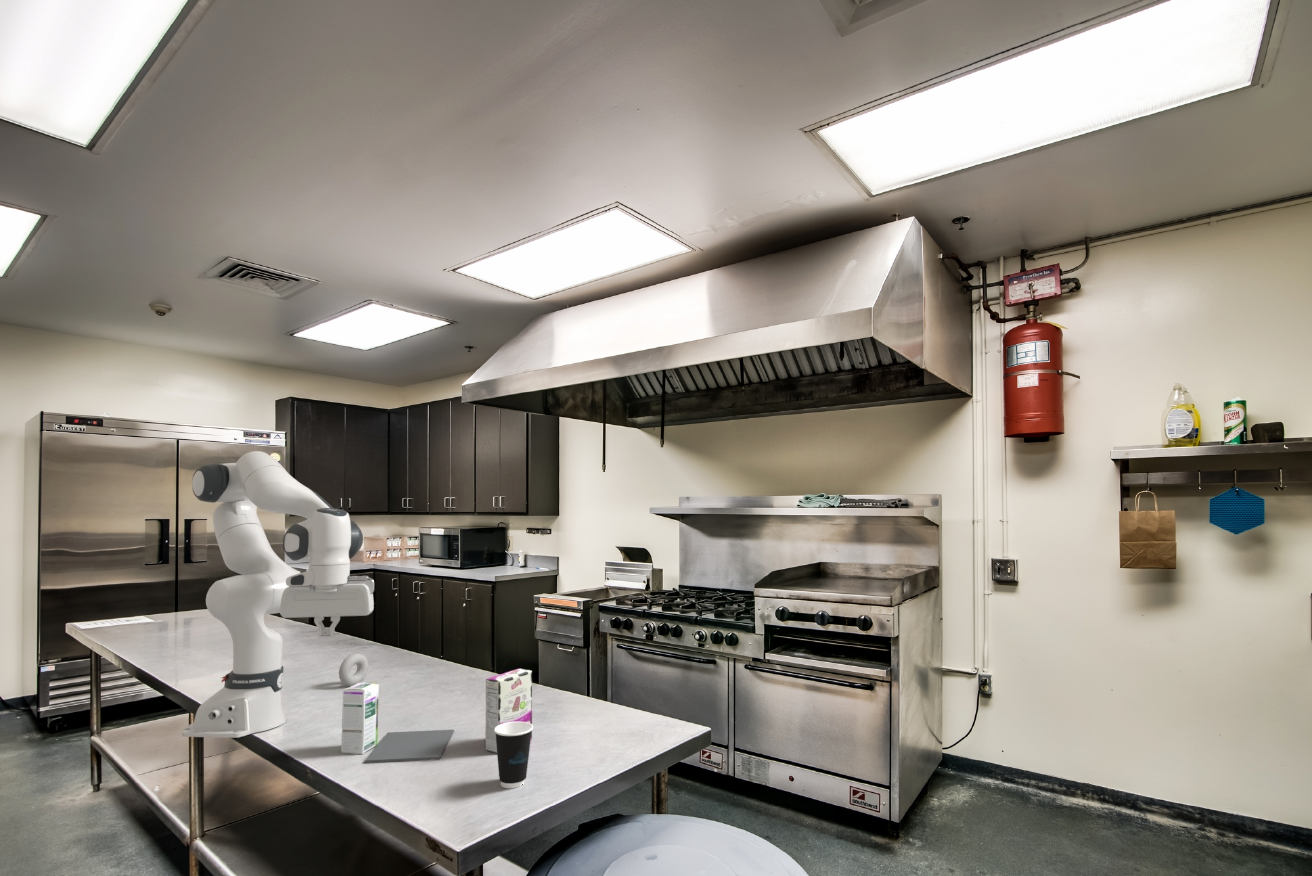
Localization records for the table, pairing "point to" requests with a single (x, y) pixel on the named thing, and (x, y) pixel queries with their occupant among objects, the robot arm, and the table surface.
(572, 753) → the table surface
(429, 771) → the table surface
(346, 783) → the table surface
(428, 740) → the mat
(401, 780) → the table surface
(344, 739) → the syrup box
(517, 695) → the candy bar box
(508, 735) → the dixie cup
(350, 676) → the donut
